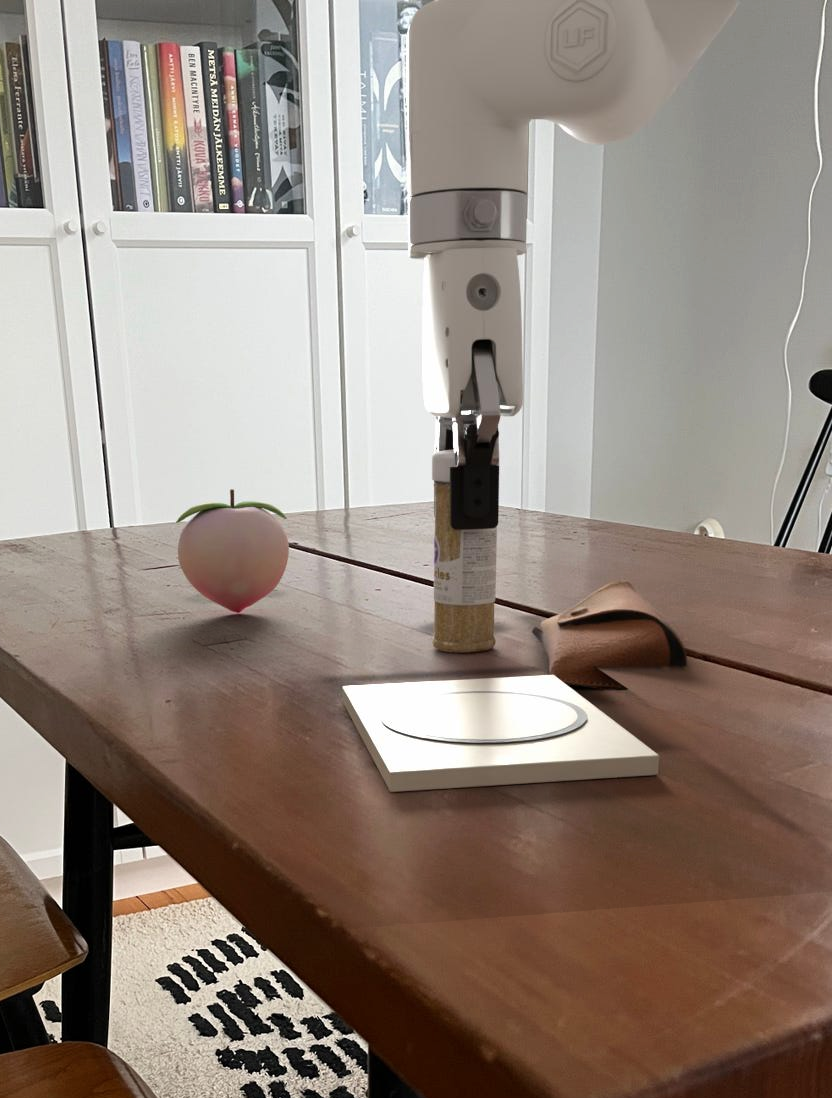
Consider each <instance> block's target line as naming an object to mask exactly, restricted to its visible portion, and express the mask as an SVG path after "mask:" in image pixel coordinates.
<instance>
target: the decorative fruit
mask: <svg viewBox="0 0 832 1098" xmlns="http://www.w3.org/2000/svg"><path fill="white" fill-rule="evenodd" d="M229 497H230V501H229V502H230V503H229V504H227V503H224V502H207V503H201V504H197V505H194V506H192V507H190V508H188V509H186V511H184V512H183V513H182V514H181V515H179V517H178V518H177V520H176V524H178V523H180V522H182V521H184V520H185V519H186V518H188V517H190V516H192V517H190V519H189V520H188V521H187V522H186V524H184V527H183V528H182V529H181V533H180V535H179V539H178V544H177V559H178V563H179V567H180V569H181V571H182V573H183V575H184V576H185V578H186V580H187V581H188V582H189V584H190V585H191V586H192V587H193V588H194V589H195V590H196V591H197V592H198V593H199V594H201V596H203V597H204V598H206V599H208V600H209V601H210V602H212V603H215V604H217V605H218V606H220V607H222V608H224V609H227V610H229V611H230V612H234V613H237V614H240V613H241V612H242V611H244V610H245V609H246V608H249V607H252V606H253V605H254V604H256V603H258V602H259V601H260V600H262V599H264V598H265V597H267V596H268V595H270V594H271V592H273V591H274V590H275V589H276V588H277V586H278V585H279V583H280V582H281V580H282V577H283V576H284V573H285V571H286V568H287V565H288V560H289V553H290V543H289V537H288V533H287V532H286V530H285V528H284V526H283V525H282V524H281V523H280V522H279V520H278V519H277V518H276V517H275V516H274V515H273V514H275V515H277V516H278V517H280V518H282V519H285V520H287V519H288V518H287V517H286V516H285V514H284V513H283V511H282V510H280V509H279V508H278V507H276V506H274V505H273V504H269V503H266V502H262V501H256V500H248V501H247V500H246V501H241V502H238V503H237V504H235V489H234V488H233V489H232V488H231V489H230V490H229ZM270 512H271V513H270ZM272 513H273V514H272Z"/></svg>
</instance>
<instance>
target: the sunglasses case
mask: <svg viewBox="0 0 832 1098" xmlns="http://www.w3.org/2000/svg"><path fill="white" fill-rule="evenodd" d="M531 633H532V635H534V636H535V637H536V638H537V639H538V640H539V641H540V643H541V644H542V646H543V649H544V650H545V651H544V652H545V653H546V655H547V660H548V675H555V676H556V677H557V678H558V679H560V680H561V681H562V682H564V683H565V684H566V685H568V686H577V687H584V688H590V689H598V690H629V688H628V687H626V686H625V685H623V684H622V683H620V682H619V681H617V680H616V679H614V678H613V677H611V676H610V675H608V674H607V673H605V672H604V671H602V670H601V669H599V668H598V667H597V666H599V667H607V666H608V667H684V668H686V667H688V657H687V652H686V649H685V646H684V644H683V642H682V640H681V639H680V637H679V636H678V634H677V633H676V632H675V630H674V629H672V627H671V626H670V625H669V623H668V622H667V621H666V620H665V618H664V617H663V616H662V615H661V614H660V612H659V611H658V610H657V609H656V608H655V607H654V606H653V605H652V604H651V603H650V602H649V601H648V600H647V599H646V598H645V597H644V596H642V595H641V594H640V593H639V592H638V591H637V590H636V588H635V587H634V586H633V585H632V583H630V582H629V581H628V580H625V579H618V580H615V581H612V582H609V583H607V584H605V585H604V586H602V587H600V588H599V589H597V590H595V591H594V592H592V593H590V594H589V595H587V596H586V597H585V598H583V599H582V600H581V601H579V602H578V603H577V604H575V605H573V606H571V607H569V608H567V609H566V610H565V611H563V612H561V613H558V614H556V615H553V616H551V617H549V618H547V619H545V620H543V621H541V622H540V628H538V627H537V626H535V627H533V629H532V630H531Z"/></svg>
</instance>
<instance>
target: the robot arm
mask: <svg viewBox="0 0 832 1098" xmlns="http://www.w3.org/2000/svg"><path fill="white" fill-rule="evenodd" d="M742 1H743V0H432V1H430V2H428V3H425V4H423V5H422V6H421V7H420V8H419V9H418V10H417V11H416V12H415V13H414V14H413V16H412V18H411V20H410V23H409V25H408V29H407V35H406V95H407V96H406V106H407V107H406V112H407V113H406V114H407V115H406V116H407V118H406V119H407V120H406V121H407V131H406V133H407V198H408V200H407V204H408V205H407V208H408V209H407V214H408V215H407V222H408V223H407V224H408V225H407V229H408V231H407V234H408V235H407V236H408V240H407V241H408V242H407V243H408V244H407V245H408V249H407V251H408V252H407V253H408V258H410V259H414V260H421V261H424V266H423V267H424V268H423V269H424V272H423V274H424V275H423V290H422V296H423V299H422V300H423V302H422V303H423V305H422V383H423V385H422V389H423V400H424V407H425V409H426V411H428V413H430V414H431V415H432V416H433V417H435V436H434V437H435V438H434V439H435V440H434V443H435V444H434V453H435V452H439V451H444V450H454V457H455V466H456V467H450V526H451V527H452V528H453V529H455V530H469V529H493V528H495V527H497V528H498V525H499V517H500V516H499V509H500V508H499V507H500V502H499V501H500V441H499V440H500V439H499V438H500V437H499V436H500V430H499V424H500V421H501V417H515V416H516V415H517V414H519V412H520V411H521V410H522V407H523V403H524V402H523V401H524V381H523V380H524V379H523V376H524V375H523V373H524V372H523V371H524V370H523V332H522V331H523V324H522V295H521V280H520V269H519V260H518V256H523V255H524V254H526V253H527V229H528V228H527V225H528V224H527V223H528V171H529V170H528V169H529V167H528V165H529V128H530V127H529V125H530V123H531V121H532V120H545V121H548V122H551V123H553V124H556V125H558V126H559V127H560V128H562V130H563V131H564V132H565V133H567V134H568V135H570V136H571V137H573V138H574V139H576V140H577V141H580V142H581V143H585V144H590V145H595V146H600V145H601V146H603V145H604V146H605V145H611V144H615V143H618V142H622V141H623V140H625V139H627V138H629V137H631V136H633V135H634V134H635V133H637V132H638V131H639V130H641V129H642V128H643V127H645V126H646V125H647V124H648V123H649V122H650V121H651V120H652V119H653V118H654V117H655V116H656V114H657V113H658V112H659V111H660V110H661V108H662V107H663V106H664V105H665V103H666V102H667V101H668V100H669V99H670V97H671V96H672V95H673V94H674V92H675V91H676V90H677V88H678V87H679V86H680V84H681V83H682V82H683V81H684V79H685V78H686V77H687V75H688V74H689V73H690V71H692V69H693V67H694V66H695V65H696V64H697V62H698V61H699V60H700V59H701V57H702V56H703V54H705V52H706V51H707V50H708V48H709V47H710V46H711V44H712V43H713V41H714V40H715V39H716V37H717V36H718V35H719V34H720V32H721V31H722V30H723V28H724V27H725V25H726V24H727V22H728V21H729V19H730V18H731V17H732V15H733V14H734V13H735V11H736V9H737V8H738V6H739V5H740V4H741V2H742ZM498 464H499V466H498ZM434 483H435V481H433V484H434ZM433 517H434V518H435V487H434V486H433Z"/></svg>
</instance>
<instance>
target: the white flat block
mask: <svg viewBox="0 0 832 1098" xmlns="http://www.w3.org/2000/svg"><path fill="white" fill-rule="evenodd" d="M341 688H342V689H341V693H342V695H341V697H342V703H343V706H344V708H345V709H346V711H347V713H348V715H349V716H350V718H351V720H352V723H353V724H354V726H355V728H356V730H357V732H358V733H359V736H360V737H361V739H362V741H363V743H364V745H365V747H366V749H367V750H368V753H369V754H370V756H371V758H372V760H373V762H374V765H376V767H377V770H378V772H379V773H380V776H381V777H382V779H383V781H384V783H385V784H386V786H387V789H388V790H389V792H390V793H400V792H416V791H429V790H445V789H447V790H448V789H461V788H462V789H463V788H479V787H493V786H494V787H495V786H509V785H523V784H524V785H525V784H538V783H540V784H541V783H554V782H570V781H584V780H585V781H586V780H601V779H618V777H619V778H633V777H649V776H658V775H659V765H660V755H659V754H658V753H656V752H655V751H654V750H653V749H651V748H650V747H649V746H648V745H647V744H645V743H644V742H643V741H641V740H640V739H638V738H637V737H636V736H635V735H633V734H632V733H631V732H629V731H628V730H626V729H625V728H624V727H623V726H621V725H620V724H619V723H618V722H616V721H615V720H613V719H612V718H611V717H610V716H608V715H607V714H606V713H605V712H603V711H602V710H600V709H599V708H597V706H595V705H594V704H592V702H590V701H589V700H587V698H585V697H584V696H582V695H581V694H579V693H578V692H577V691H576V690H575V689H573V688H572V687H570V685H568V684H565V683H564V682H562V681H561V680H560V679H558V678H557V677H556V676H555V675H549V674H545V675H544V674H541V675H525V676H508V677H506V676H505V677H489V678H488V677H487V678H486V677H485V678H470V679H469V678H468V679H467V678H466V679H449V680H433V681H432V680H431V681H414V682H397V683H396V682H395V683H378V684H376V683H375V684H360V685H359V684H358V685H357V684H356V685H343V686H342V687H341Z"/></svg>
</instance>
